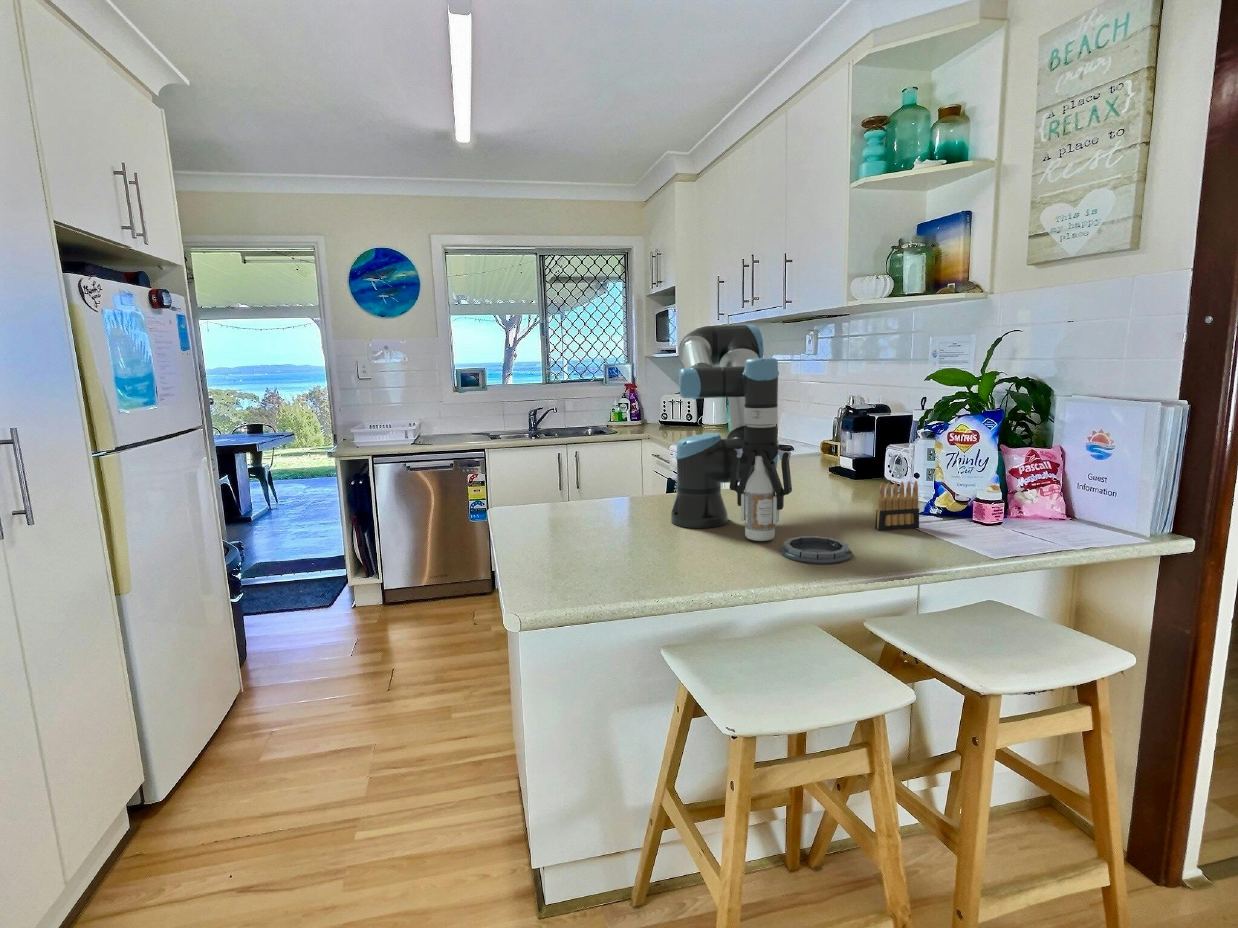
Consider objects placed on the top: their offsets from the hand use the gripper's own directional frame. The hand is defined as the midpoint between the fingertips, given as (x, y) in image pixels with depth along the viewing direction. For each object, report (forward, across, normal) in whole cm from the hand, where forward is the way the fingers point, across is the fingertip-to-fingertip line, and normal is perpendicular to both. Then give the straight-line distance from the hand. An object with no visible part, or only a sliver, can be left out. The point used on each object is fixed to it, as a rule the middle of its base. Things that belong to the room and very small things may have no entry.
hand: (760, 520), depth 148 cm
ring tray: (+5, +14, -5) cm, 16 cm away
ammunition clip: (+5, +28, +23) cm, 37 cm away
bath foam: (+4, 0, 0) cm, 4 cm away
